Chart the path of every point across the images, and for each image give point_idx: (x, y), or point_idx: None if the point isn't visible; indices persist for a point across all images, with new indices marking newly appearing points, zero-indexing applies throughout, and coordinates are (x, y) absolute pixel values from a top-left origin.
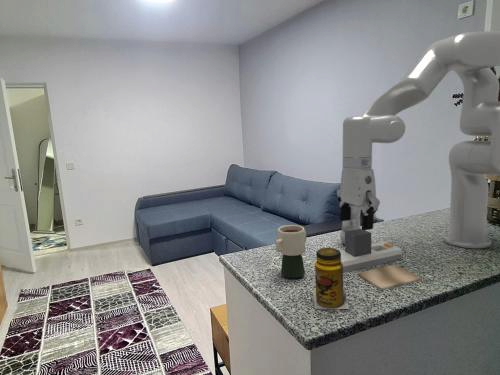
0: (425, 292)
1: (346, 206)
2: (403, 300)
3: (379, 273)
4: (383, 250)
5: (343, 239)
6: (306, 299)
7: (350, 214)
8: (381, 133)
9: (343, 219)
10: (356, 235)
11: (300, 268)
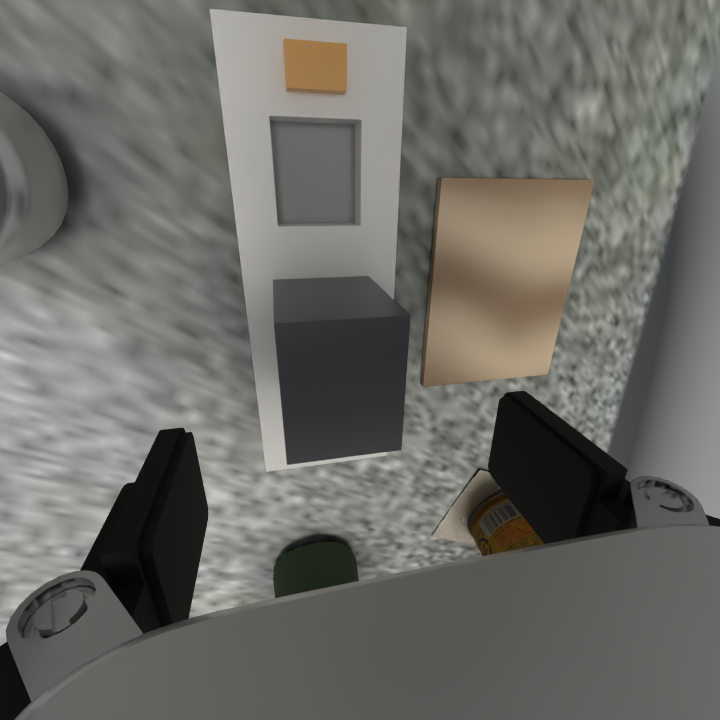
0: (639, 249)
1: (150, 622)
2: (615, 349)
3: (469, 311)
4: (365, 173)
5: (7, 262)
6: (461, 556)
7: (180, 472)
8: None
9: (204, 511)
10: (398, 434)
11: (355, 580)
